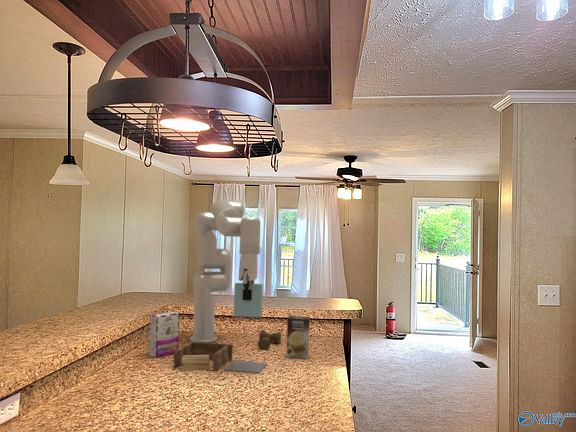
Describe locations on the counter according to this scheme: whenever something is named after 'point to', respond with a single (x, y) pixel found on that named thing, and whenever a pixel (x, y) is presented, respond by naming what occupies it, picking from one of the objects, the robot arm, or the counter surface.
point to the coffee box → (298, 337)
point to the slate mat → (245, 367)
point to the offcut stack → (195, 363)
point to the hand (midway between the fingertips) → (248, 299)
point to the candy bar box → (164, 334)
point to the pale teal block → (248, 307)
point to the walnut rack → (205, 353)
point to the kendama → (268, 339)
